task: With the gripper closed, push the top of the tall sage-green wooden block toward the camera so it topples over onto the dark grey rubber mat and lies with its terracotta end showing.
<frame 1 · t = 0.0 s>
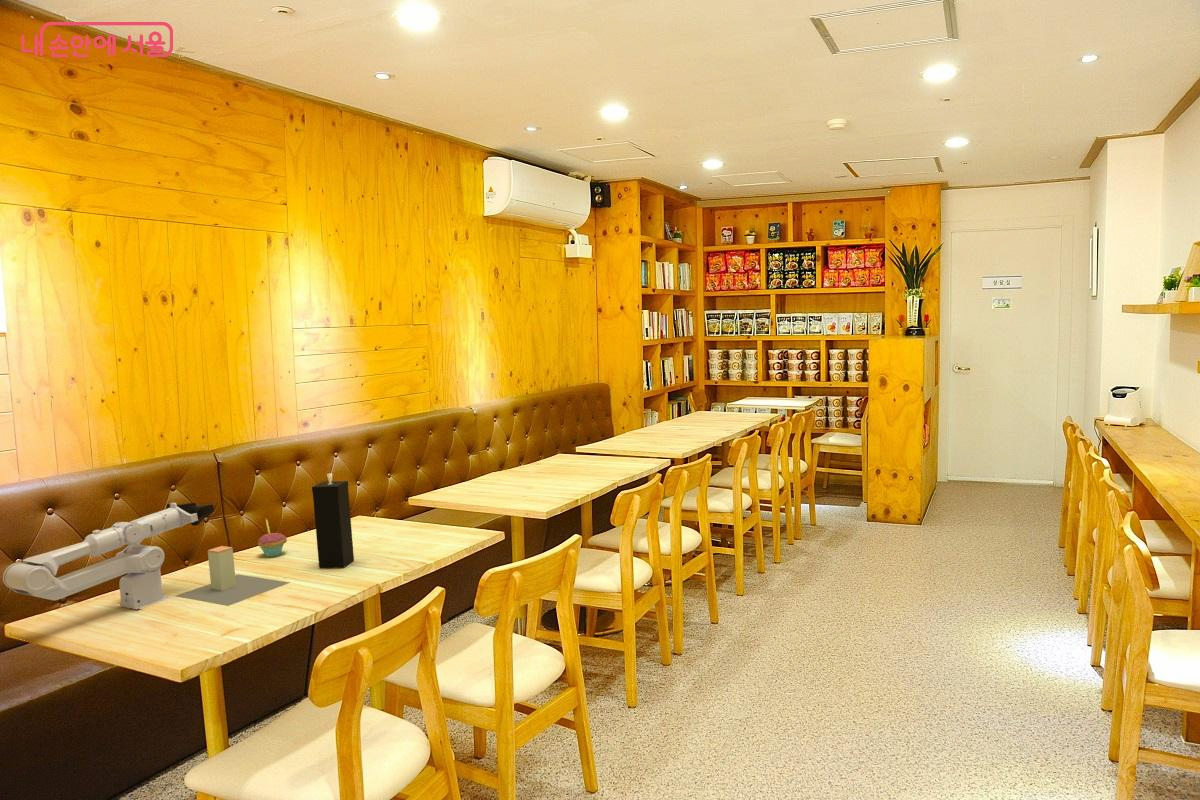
hand: (204, 507, 237), 22 cm above the table, tool horizontal, fingers open, 7 cm apart
black pillar candle: (336, 565, 249), on the table
rubber mat: (233, 591, 228), on the table
cupcake: (273, 555, 264), on the table
sage block: (223, 587, 230), point 1 cm above the table, touching rubber mat
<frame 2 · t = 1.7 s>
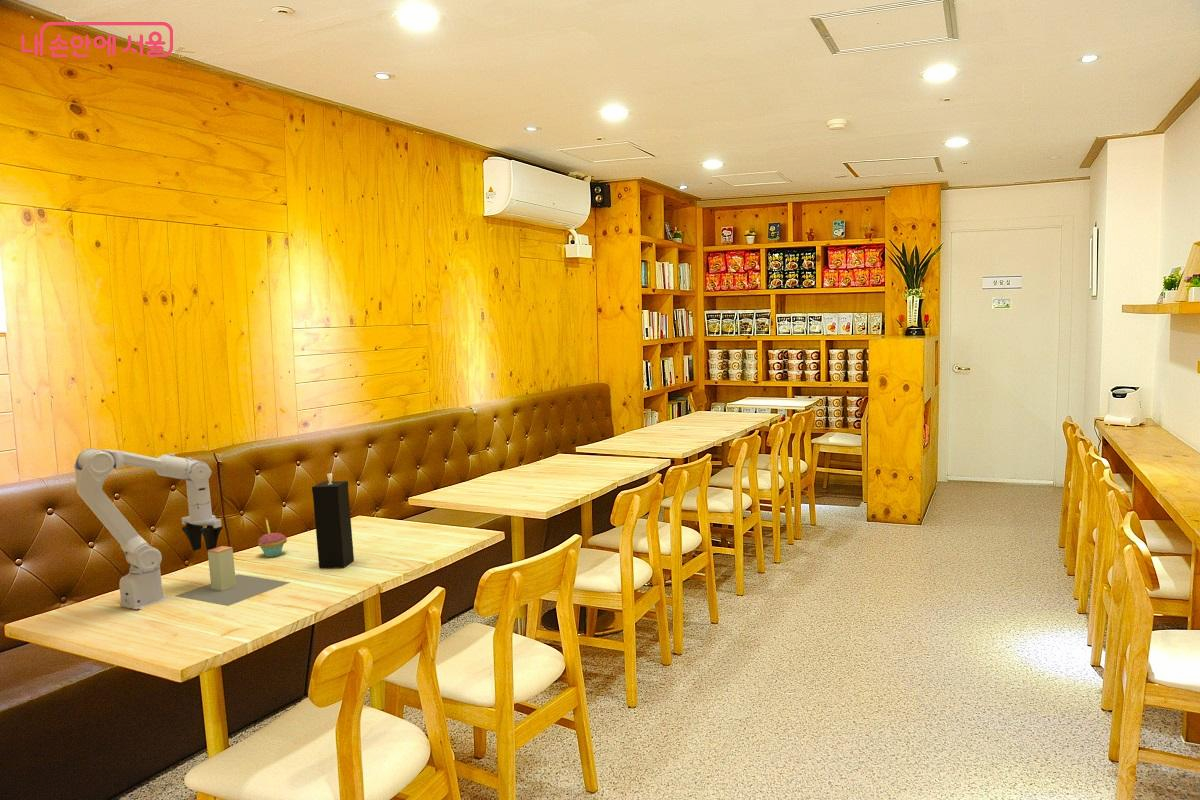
hand: (204, 550, 232), 10 cm above the table, tool pointing down, fingers open, 6 cm apart
nothing on the table moved.
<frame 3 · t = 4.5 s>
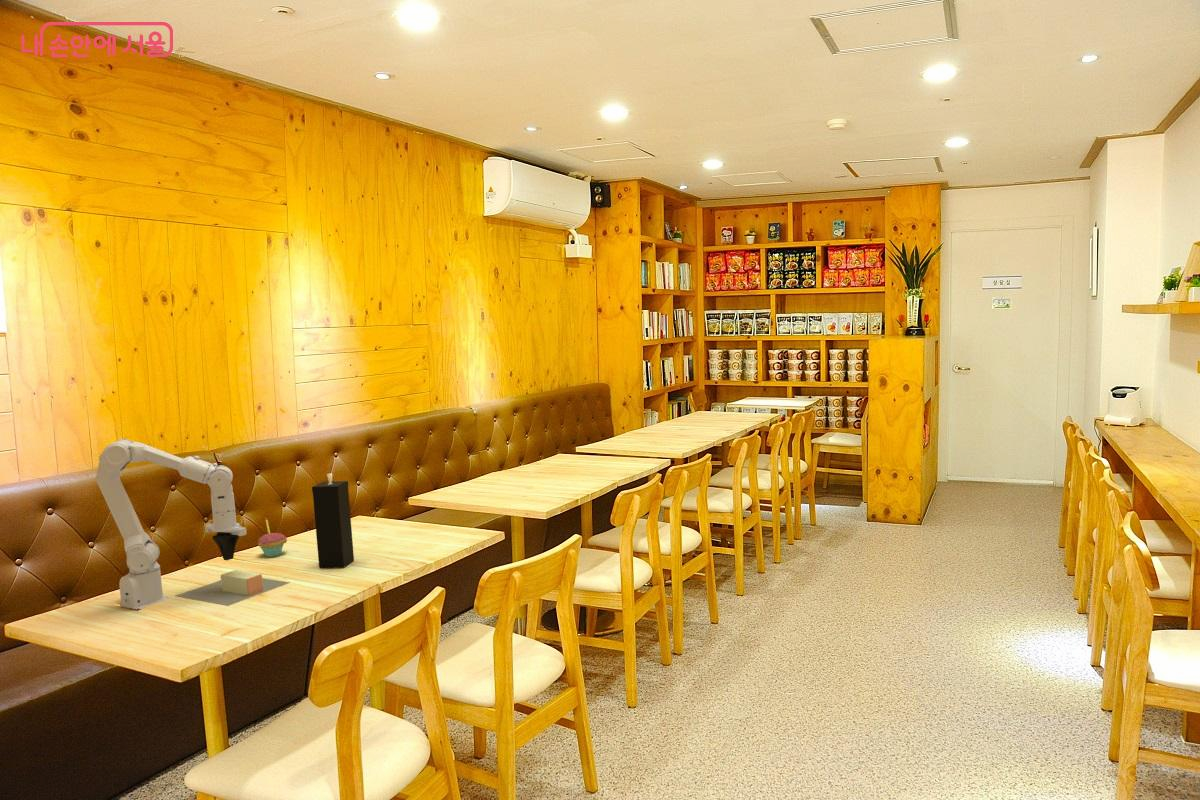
hand: (228, 559, 228), 9 cm above the table, tool pointing down, fingers closed
sage block: (228, 580, 229), point 3 cm above the table, tilted 90°, touching rubber mat
everything else where it was.
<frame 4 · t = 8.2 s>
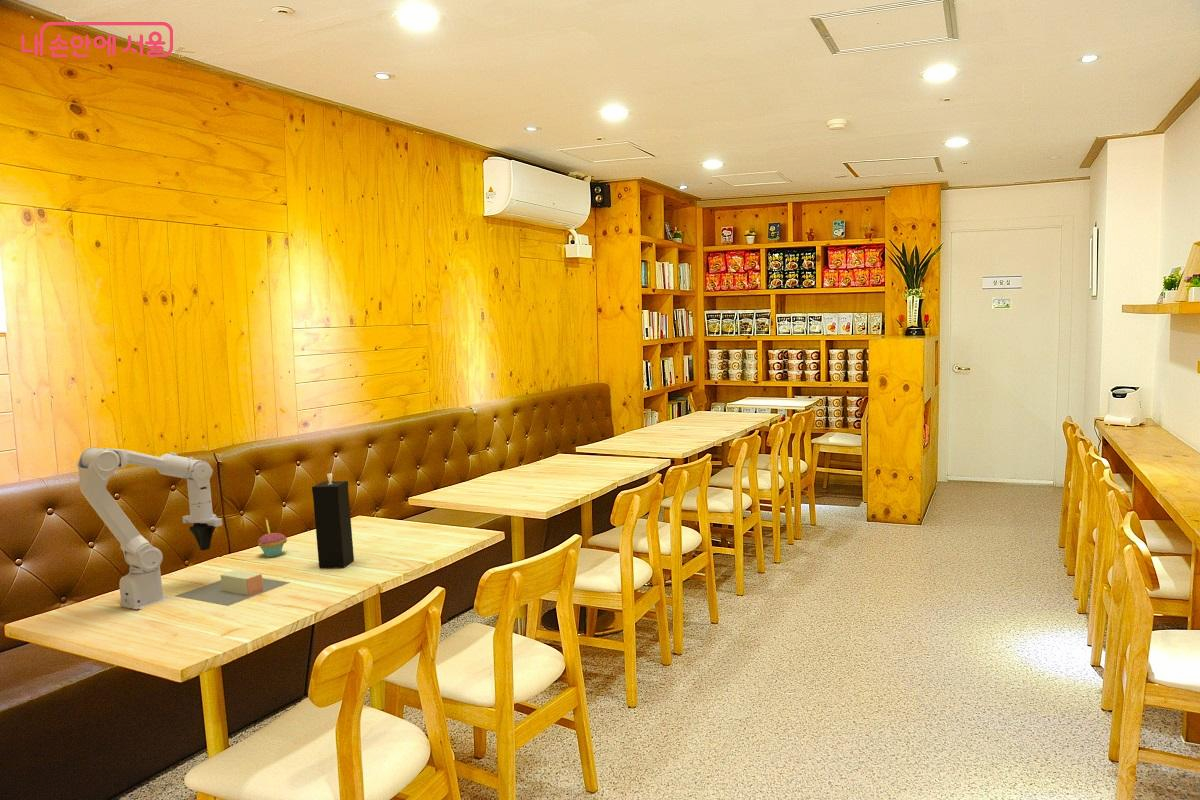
hand: (205, 549, 234), 10 cm above the table, tool pointing down, fingers closed
nothing on the table moved.
at the end: sage block tilted 90°; sage block inside the target area (0.7 cm from its centre), point 2.8 cm above the table; sage block touching rubber mat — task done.
